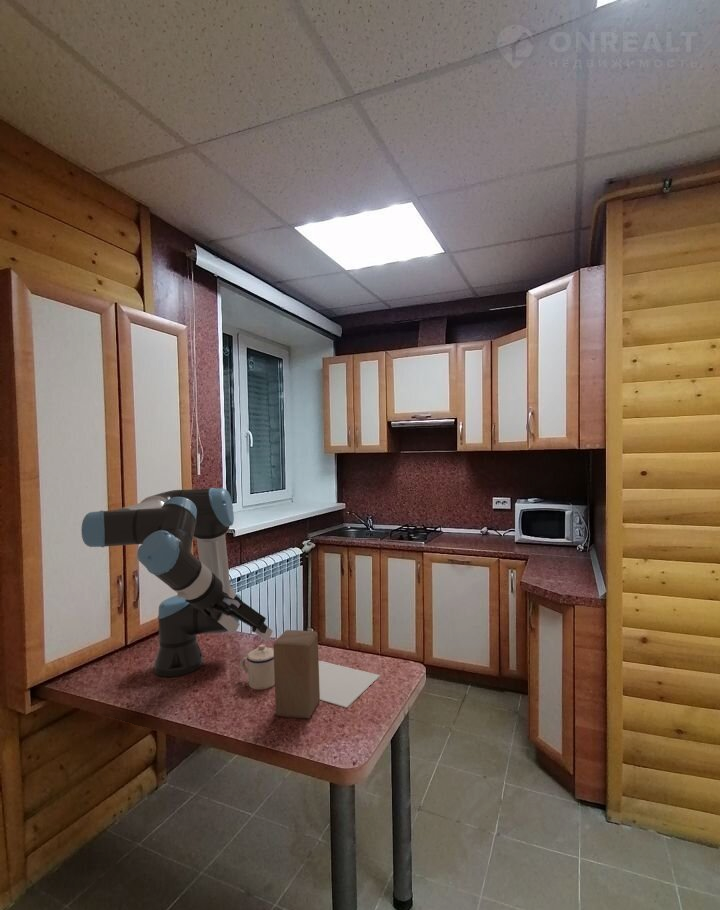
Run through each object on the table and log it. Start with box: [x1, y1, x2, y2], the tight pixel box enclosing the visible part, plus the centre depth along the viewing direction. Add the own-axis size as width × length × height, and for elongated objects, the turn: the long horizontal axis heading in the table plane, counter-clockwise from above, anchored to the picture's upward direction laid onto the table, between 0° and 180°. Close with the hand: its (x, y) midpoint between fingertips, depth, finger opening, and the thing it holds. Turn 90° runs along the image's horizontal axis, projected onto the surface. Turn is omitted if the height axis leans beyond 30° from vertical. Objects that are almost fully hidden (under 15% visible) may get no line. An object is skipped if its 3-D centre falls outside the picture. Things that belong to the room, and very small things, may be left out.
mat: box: [319, 660, 381, 709], centre depth 140 cm, size 24×20×1 cm
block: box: [272, 629, 320, 719], centre depth 126 cm, size 10×10×20 cm
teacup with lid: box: [240, 644, 275, 691], centre depth 142 cm, size 12×9×12 cm
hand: (252, 632), depth 112 cm, fingers open, 10 cm apart
